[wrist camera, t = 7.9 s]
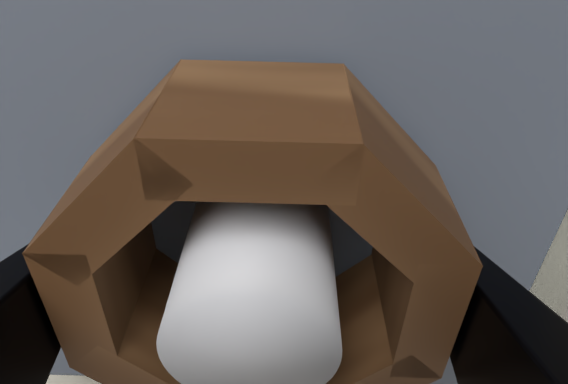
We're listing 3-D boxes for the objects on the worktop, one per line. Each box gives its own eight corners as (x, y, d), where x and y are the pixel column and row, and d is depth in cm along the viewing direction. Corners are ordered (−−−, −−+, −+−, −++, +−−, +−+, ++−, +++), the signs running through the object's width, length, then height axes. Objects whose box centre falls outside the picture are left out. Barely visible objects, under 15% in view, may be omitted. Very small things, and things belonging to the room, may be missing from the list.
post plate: (695, -164, 8) (1173, -199, 3) (473, 360, 16) (537, 535, 11) (-162, -185, 8) (-698, -246, 3) (59, 347, 16) (-25, 517, 12)
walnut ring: (459, 66, 8) (527, 147, 6) (396, 324, 13) (421, 434, 10) (65, 56, 8) (-28, 133, 6) (132, 316, 13) (93, 424, 10)
